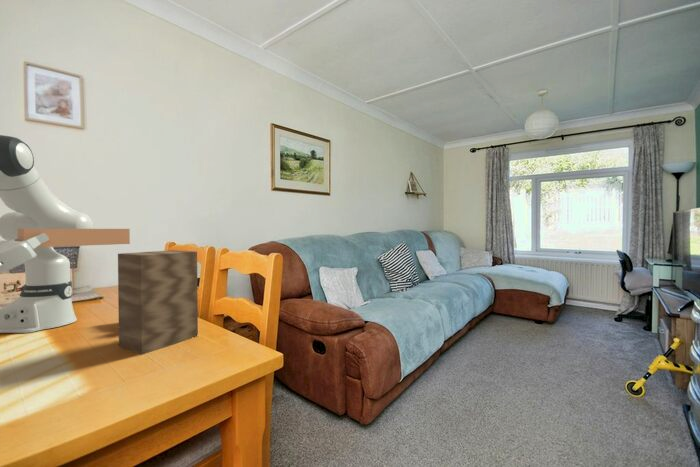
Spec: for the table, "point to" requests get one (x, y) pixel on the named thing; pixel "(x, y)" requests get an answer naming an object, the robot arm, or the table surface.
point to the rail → (78, 236)
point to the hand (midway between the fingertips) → (41, 235)
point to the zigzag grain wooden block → (157, 299)
